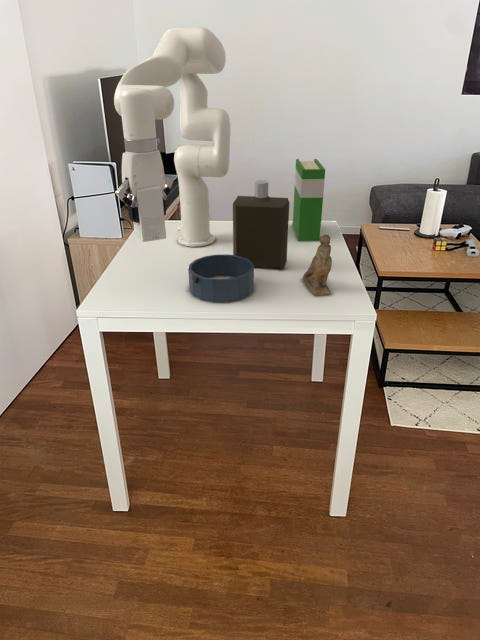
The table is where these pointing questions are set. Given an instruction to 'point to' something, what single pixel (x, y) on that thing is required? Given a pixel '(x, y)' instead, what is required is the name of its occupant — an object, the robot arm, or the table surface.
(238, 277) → the blue-grey ring
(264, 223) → the bottle
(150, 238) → the small box
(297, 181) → the hardback book
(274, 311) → the table surface
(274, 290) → the table surface
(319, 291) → the brown carved statuette
